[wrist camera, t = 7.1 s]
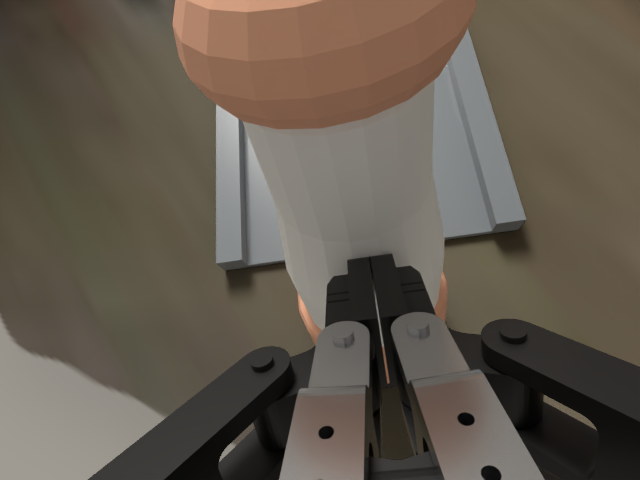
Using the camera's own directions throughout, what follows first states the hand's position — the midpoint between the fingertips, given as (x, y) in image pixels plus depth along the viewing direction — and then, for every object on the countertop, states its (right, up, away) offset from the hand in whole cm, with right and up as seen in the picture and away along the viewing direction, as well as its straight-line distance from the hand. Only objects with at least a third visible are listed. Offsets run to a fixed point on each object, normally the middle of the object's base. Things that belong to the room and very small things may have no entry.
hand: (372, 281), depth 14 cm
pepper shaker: (+1, -3, +9) cm, 10 cm away
